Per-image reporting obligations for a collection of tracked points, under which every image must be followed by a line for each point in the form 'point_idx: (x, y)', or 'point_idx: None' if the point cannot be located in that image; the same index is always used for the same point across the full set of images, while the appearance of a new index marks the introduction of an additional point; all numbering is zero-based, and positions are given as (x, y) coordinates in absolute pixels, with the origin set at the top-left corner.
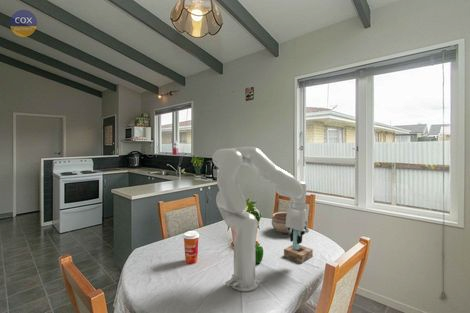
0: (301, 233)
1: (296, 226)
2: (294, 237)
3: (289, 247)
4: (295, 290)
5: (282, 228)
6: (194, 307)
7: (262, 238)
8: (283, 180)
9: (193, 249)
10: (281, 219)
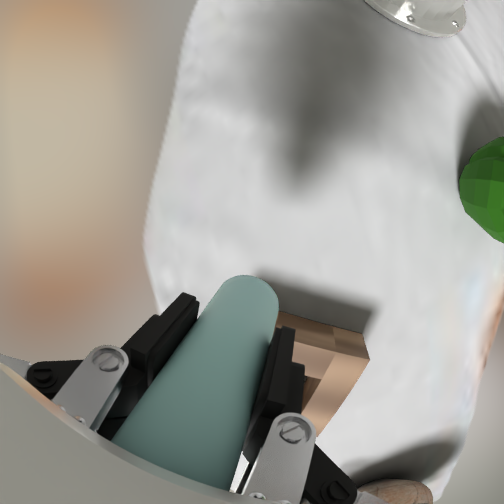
0: (75, 379)
1: (20, 468)
2: (217, 350)
3: (340, 391)
4: (194, 33)
5: (390, 493)
6: None
7: (464, 421)
8: None
9: None
10: None
